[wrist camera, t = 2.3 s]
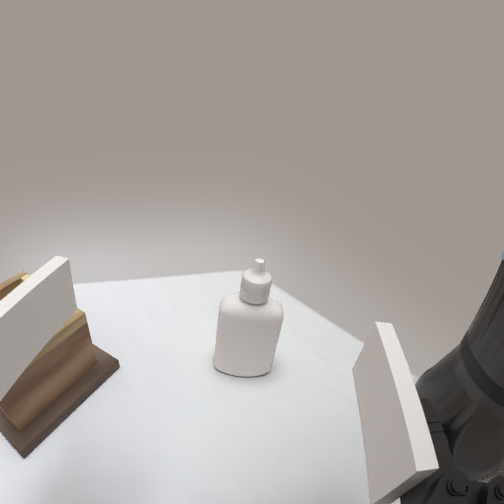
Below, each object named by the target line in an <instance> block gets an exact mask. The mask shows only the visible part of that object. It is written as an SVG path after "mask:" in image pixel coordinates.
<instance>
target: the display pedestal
mask: <svg viewBox="0 0 504 504" xmlns="http://www.w3.org/2000/svg"><path fill="white" fill-rule="evenodd" d="M28 277H30V275H28V274H27V273H25V272H24V271H22V272H20V273H19V274H17V275H15V276H13V277H11V278H10V279H8V280H6V281H4V282H3V283H1V284H0V301H1V300H2V299H3V298H5V297H6V296H7V295H8V294H9V293H10V292H12V291H13V290H14V289H15V288H16V287H17V286H19V285H20V284H21V283H22V282H24V281H25V280H26V279H27V278H28ZM119 367H120V366H119V362H118V360H117V359H116V358H114V357H112V356H111V355H109V354H107V353H106V352H104V351H103V350H101V349H100V348H98V347H97V346H95V345H93V344H92V340H91V336H90V332H89V328H88V324H87V319H86V315H85V313H84V312H83V311H81V310H80V309H78V308H77V310H76V311H75V312H74V313H73V314H72V315H71V316H70V317H69V319H68V320H67V321H66V322H65V323H64V324H63V325H62V326H61V328H60V329H59V330H58V331H57V332H56V333H55V334H54V335H53V337H52V338H51V339H50V340H49V341H48V342H47V344H46V345H45V346H44V347H43V348H42V350H41V351H40V352H39V353H38V354H37V355H36V357H35V358H34V359H33V360H32V362H31V363H30V364H29V365H28V366H27V368H26V369H25V370H24V371H23V373H22V374H21V375H20V376H19V378H18V379H17V380H16V382H15V383H14V384H13V385H12V387H11V388H10V389H9V391H8V392H7V393H6V395H5V396H4V397H3V399H2V400H1V401H0V431H1V432H2V434H3V435H4V436H5V437H6V438H7V440H8V441H9V442H10V443H11V444H12V446H13V447H14V448H15V449H16V450H17V451H18V452H19V453H20V454H21V456H22V457H23V458H25V457H26V456H27V455H28V454H29V453H30V452H31V451H32V450H33V449H35V448H36V447H37V446H38V445H39V444H40V443H41V442H42V441H43V440H44V439H45V438H46V437H47V436H48V435H49V434H50V433H51V432H52V431H53V430H54V429H55V428H56V427H57V426H58V425H59V424H60V423H61V422H63V421H64V420H65V419H66V418H67V417H68V416H69V415H70V414H71V413H72V412H73V411H74V410H75V409H76V408H77V407H78V406H79V405H80V404H81V403H82V402H83V401H84V400H85V399H87V398H88V397H89V396H90V395H91V394H92V393H93V392H94V391H95V390H96V389H97V388H98V387H99V386H100V385H101V384H102V383H103V382H104V381H105V380H106V379H107V378H109V377H110V376H111V375H112V374H113V373H114V372H115V371H116V370H117V369H118V368H119Z"/></svg>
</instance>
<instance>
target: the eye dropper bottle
mask: <svg viewBox="0 0 504 504" xmlns="http://www.w3.org/2000/svg"><path fill="white" fill-rule="evenodd" d="M271 282H272V277H271V275H270V274H269V273H268V272H266V271H265V265H264V260H263V259H256V260H255V263H254V265H253V268H252V269H248V270H246V271H244V272H243V274H242V281H241V288H240V292H238V293H234V294H231V295H228V296H225V297H224V298H223V299H222V300H221V302H220V306H219V314H218V323H217V334H216V344H215V356H214V365H215V368H216V369H218V370H219V371H221V372H224V373H227V374H230V375H235V376H241V377H252V376H259V375H263V374H266V373H268V372H269V371H270V368H271V364H272V361H273V357H274V353H275V350H276V346H277V342H278V338H279V334H280V330H281V326H282V322H283V309H282V305H281V304H280V303H279V302H278V301H277V300H275V299H273V298H271V297H269V292H270V287H271Z"/></svg>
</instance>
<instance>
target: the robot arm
mask: <svg viewBox="0 0 504 504" xmlns="http://www.w3.org/2000/svg"><path fill="white" fill-rule="evenodd" d="M501 257H502V262H501V264H500V266H499V269H498V271H497V274H496V276H495V278H494V280H493V283H492V285H491V287H490V289H489V291H488V293H487V296H486V297H485V299H484V301H483V303H482V305H481V307H480V309H479V311H478V313H477V314H476V316H475V318H474V320H473V322H472V323H471V325H470V327H469V329H468V331H467V332H466V334H465V336H464V337H463V339H462V341H461V342H460V344H459V345H458V346H457V347H456V348H454V349H453V350H452V351H451V352H450V353H449V354H447V355H446V356H445V357H444V358H443V359H442V360H440V361H439V362H438V363H437V364H436V365H434V366H433V367H432V368H430V369H428V370H427V371H426V372H425V373H424V374H423V375H422V376H421V377H420V378H419V379H418V381H417V382H416V384H414V382H413V379H412V376H411V373H410V370H409V367H408V365H407V362H406V360H405V357H404V354H403V351H402V349H401V346H400V343H399V341H398V338H397V336H396V333H395V331H394V328H393V326H392V324H391V323H383V322H375V323H374V325H373V328H372V330H371V332H370V334H369V336H368V338H367V341H366V342H365V344H364V347H363V349H362V351H361V353H360V355H359V357H358V359H357V361H356V363H355V364H354V366H353V368H352V371H353V376H354V382H355V388H356V394H357V400H358V406H359V413H360V419H361V426H362V434H363V441H364V449H365V457H366V466H367V475H368V485H369V496H370V504H390V503H392V502H394V501H395V500H397V499H398V498H400V501H401V504H504V476H496V477H494V478H493V479H492V480H490V481H489V482H488V483H483V482H474V480H478V479H481V478H483V477H485V476H487V475H488V474H490V473H491V472H492V471H494V470H495V469H496V468H497V467H499V466H500V465H501V464H502V463H503V462H504V251H503V253H502V256H501ZM70 271H71V270H70V264H69V259H68V258H64V257H60V256H55V257H54V258H53V259H52V260H50V261H49V262H48V263H46V264H45V265H44V266H42V267H41V268H40V269H39V270H37V271H36V272H35V273H34V274H32V275H31V276H30V277H28V278H27V279H26V280H25V281H24V282H22V283H21V284H20V285H19V286H17V287H16V288H15V289H14V290H13V291H12V292H10V293H9V294H8V295H7V296H6V297H5V298H3V299H2V300H1V301H0V401H1V400H2V399H3V397H4V396H5V395H6V393H7V392H8V391H9V389H10V388H11V387H12V385H13V384H14V383H15V382H16V380H17V379H18V378H19V376H20V375H21V374H22V373H23V371H24V370H25V369H26V368H27V366H28V365H29V364H30V363H31V362H32V360H33V359H34V358H35V357H36V355H37V354H38V353H39V352H40V351H41V350H42V348H43V347H44V346H45V345H46V344H47V342H48V341H49V340H50V339H51V338H52V337H53V335H54V334H55V333H56V332H57V331H58V330H59V329H60V328H61V326H62V325H63V324H64V323H65V322H66V321H67V320H68V319H69V317H70V316H71V315H72V314H73V313H74V312H75V311H76V310H77V306H76V300H75V295H74V289H73V283H72V277H71V272H70Z"/></svg>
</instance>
